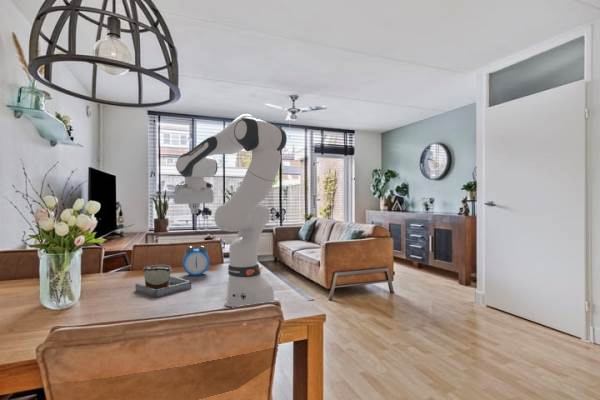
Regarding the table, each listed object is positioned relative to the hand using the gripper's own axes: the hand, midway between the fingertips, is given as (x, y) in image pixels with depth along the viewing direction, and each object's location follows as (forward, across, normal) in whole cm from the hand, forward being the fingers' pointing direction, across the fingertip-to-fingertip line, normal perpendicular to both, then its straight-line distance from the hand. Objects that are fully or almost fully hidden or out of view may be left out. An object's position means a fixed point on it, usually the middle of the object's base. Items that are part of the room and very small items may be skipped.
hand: (194, 213), depth 153 cm
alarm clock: (+33, +8, +10) cm, 36 cm away
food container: (+33, -16, +3) cm, 37 cm away
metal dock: (+33, -16, 0) cm, 37 cm away
